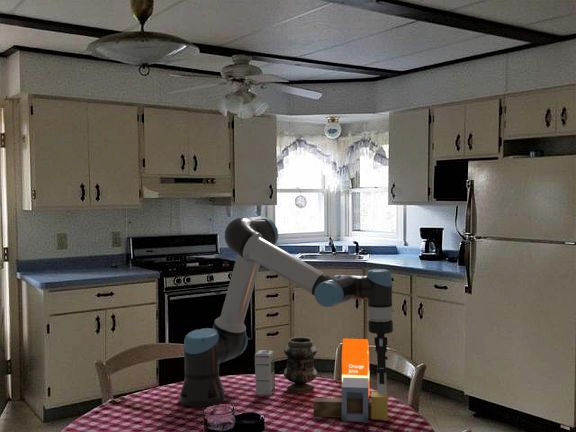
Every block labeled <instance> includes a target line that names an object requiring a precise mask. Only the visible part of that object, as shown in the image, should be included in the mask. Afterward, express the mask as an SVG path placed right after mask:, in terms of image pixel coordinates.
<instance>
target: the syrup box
mask: <svg viewBox="0 0 576 432" xmlns="http://www.w3.org/2000/svg"><path fill="white" fill-rule="evenodd" d="M254 372H255V373H254V375H255V379H254V380H255V394H256V395H259V396H272V395H273V393H275V391H276V383H275V380H276V379H275V351H274V350H270V349H260V350H258V351H257V352H256V353H255V354H254Z"/></svg>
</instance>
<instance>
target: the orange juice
mask: <svg viewBox="0 0 576 432" xmlns="http://www.w3.org/2000/svg"><path fill="white" fill-rule="evenodd" d="M341 348H342V351H341V383H342V382H343V378H368V398H369V397H370V350H369V348H370V347H369V340H368V339H367V338H366V339H364V338H343V339H342V347H341ZM369 399H370V398H369Z"/></svg>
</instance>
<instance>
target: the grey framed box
mask: <svg viewBox="0 0 576 432" xmlns="http://www.w3.org/2000/svg"><path fill="white" fill-rule="evenodd" d="M341 398H342V417H341V421H342V422H359V423H360V422H364V423H368V422H369V418H368V399H370V398H368V378H343V382H342V381H341ZM347 399H363V413H347Z"/></svg>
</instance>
